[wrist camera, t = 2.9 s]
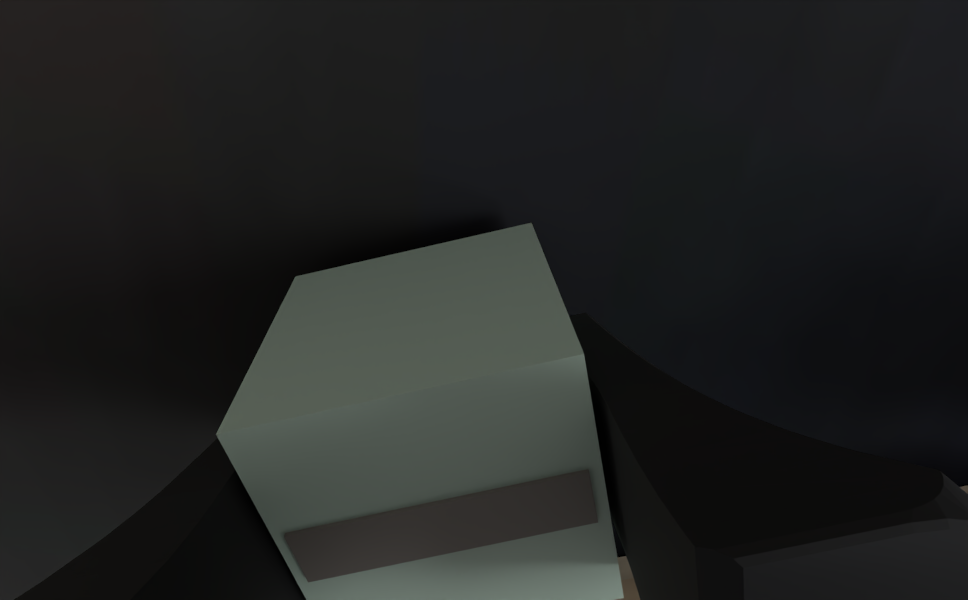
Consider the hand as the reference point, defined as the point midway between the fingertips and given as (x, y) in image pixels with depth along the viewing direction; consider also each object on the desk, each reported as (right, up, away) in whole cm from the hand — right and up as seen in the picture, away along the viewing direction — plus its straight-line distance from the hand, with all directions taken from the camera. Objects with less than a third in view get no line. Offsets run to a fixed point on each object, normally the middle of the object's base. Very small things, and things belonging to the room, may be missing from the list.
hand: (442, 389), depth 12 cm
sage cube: (0, +1, +1) cm, 1 cm away
